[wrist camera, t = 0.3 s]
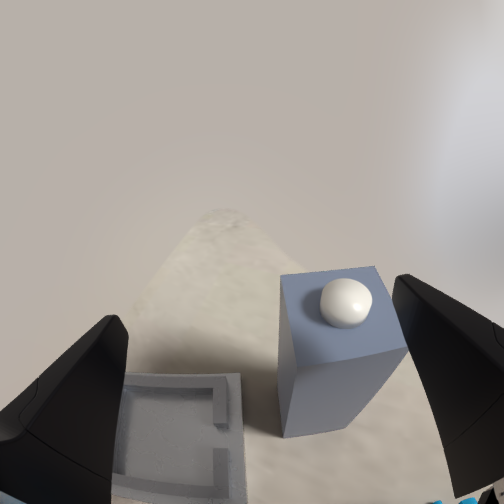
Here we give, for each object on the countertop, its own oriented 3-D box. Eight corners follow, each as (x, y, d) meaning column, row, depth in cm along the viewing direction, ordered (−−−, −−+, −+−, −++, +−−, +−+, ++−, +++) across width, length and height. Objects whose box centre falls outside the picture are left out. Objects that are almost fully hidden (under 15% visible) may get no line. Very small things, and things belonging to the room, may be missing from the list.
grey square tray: (248, 509, 13) (245, 511, 11) (100, 490, 13) (84, 486, 11) (241, 377, 22) (238, 364, 21) (116, 375, 22) (105, 362, 21)
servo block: (345, 428, 18) (419, 333, 9) (283, 438, 18) (298, 356, 9) (333, 376, 22) (377, 253, 13) (276, 384, 22) (280, 262, 13)
